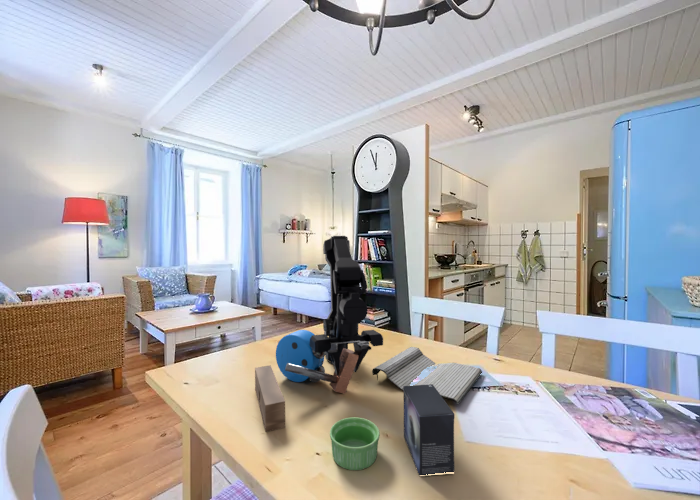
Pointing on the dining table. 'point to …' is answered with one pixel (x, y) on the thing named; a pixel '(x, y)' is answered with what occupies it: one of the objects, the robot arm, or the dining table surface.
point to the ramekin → (354, 443)
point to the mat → (445, 378)
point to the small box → (428, 429)
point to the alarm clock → (298, 355)
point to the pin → (336, 381)
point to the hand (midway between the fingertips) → (346, 373)
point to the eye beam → (269, 398)
